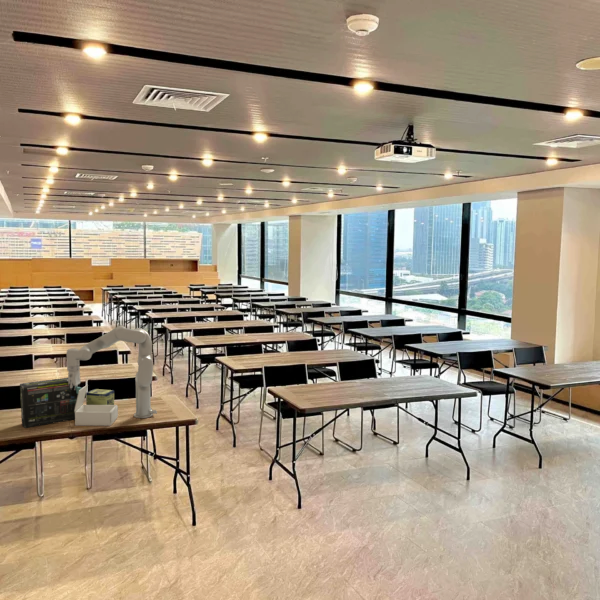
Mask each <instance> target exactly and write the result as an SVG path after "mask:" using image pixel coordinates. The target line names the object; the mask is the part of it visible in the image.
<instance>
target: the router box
mask: <svg viewBox="0 0 600 600" xmlns="http://www.w3.org/2000/svg"><path fill="white" fill-rule="evenodd" d="M78 387H80V388H81V383H80V384H78ZM19 390H20V395H19V396H20V412H21V413H20V415H21V426H22V427H23V428H25V429H29V428H33V427H38V426H46V425H51V424H57V423H62V422H68V421H73V420H74V421H75V412H76V411H77V410H76V411H75V412H74V410H75V405H76V401H77V397H78V395H77V396H71V389H70V386H69V385H68V377H61V378H55V379H45V380H40V381H38V380H37V381H31V382H30V381H29V382H23V383H19Z"/></svg>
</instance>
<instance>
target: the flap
mask: <svg viewBox="0 0 600 600" xmlns="http://www.w3.org/2000/svg"><path fill="white" fill-rule="evenodd" d="M87 389H88V384H85V386H83V387H81V386H80V387H76V392H77V394H78V397H77V401H76V405H75V410H74V412H75V411H76V410H78V409H79V408H80V407H81V406H83V405H84V402H85V399H86V393H87Z"/></svg>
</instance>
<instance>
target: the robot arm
mask: <svg viewBox="0 0 600 600" xmlns="http://www.w3.org/2000/svg"><path fill="white" fill-rule="evenodd" d="M119 341H122V342H128V343H132V344H133V343H134V344H138V356H137V365H138V366H137V368H138V369H137V372H136V373H135V379H134V380H135V413H134V414H133V417H134V418H136V419H148V418H150V417H151V418H152V417H153V416H154V414H156V415H157V413H158V411H157V410H156V409H152V406H151V403H152V402H151V398H152V397H151V383H152V381H153V375H154V373H153V372H154V362H153V361H154V360H153V359H152V354H153V341H152V338H151V336H150V334H149V333H148V332H147V331H146V330H145V329H143V328H141V327H136V328H134V329H131V328H127V327H125V326H124V325H117V326H116V327H114V328H112V329H111V330H110V331H108V332H106V333H105V334H103V335H101V336H99V337H98V338H96V339H94V340H91V341H90V342H88V343H86V344H85V345H83V346H82V347H81V348H80V349H79V348H69V349H66V370H67V372H68V374H67V376H68V377H67V378H68V385H69V386H70V389H71V396H77V395H78V394H77V392H76V387H78V384H80V385H81V382H82V381H81V372H80V370H81V369H80V368H81V367H80V365H81V364H80V361H88V360H90V359H91V358H92V356H93V354H95V353H96V352H98V351H100V350H102V349H107V348H109V347H111V346H113V345H115V344H116V343H118V342H119Z"/></svg>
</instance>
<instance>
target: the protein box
mask: <svg viewBox="0 0 600 600" xmlns="http://www.w3.org/2000/svg"><path fill="white" fill-rule="evenodd" d="M85 405H115V390H114V389H112V390H111V389H99V388H94V389H92V390H89V391H86V394H85Z"/></svg>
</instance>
